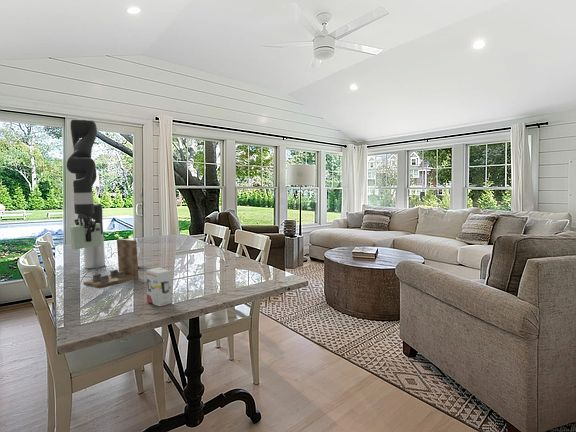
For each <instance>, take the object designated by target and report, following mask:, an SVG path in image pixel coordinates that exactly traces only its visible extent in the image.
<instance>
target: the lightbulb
mask: <svg viewBox="0 0 576 432" xmlns="http://www.w3.org/2000/svg"><path fill="white" fill-rule="evenodd" d="M140 253H141V249H140V247H139V246H138V245H137V259H138V257H139V255H140Z"/></svg>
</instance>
